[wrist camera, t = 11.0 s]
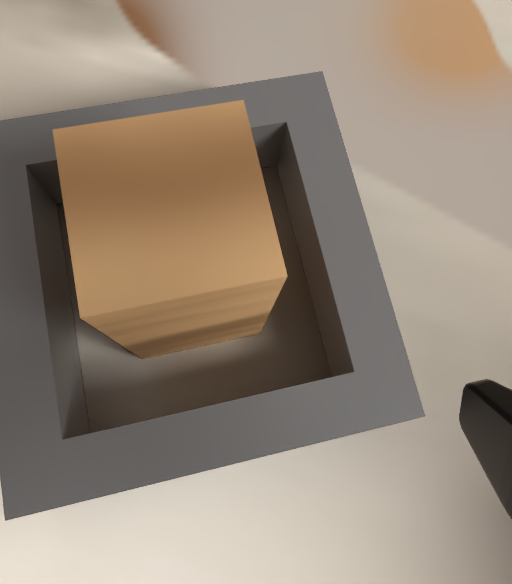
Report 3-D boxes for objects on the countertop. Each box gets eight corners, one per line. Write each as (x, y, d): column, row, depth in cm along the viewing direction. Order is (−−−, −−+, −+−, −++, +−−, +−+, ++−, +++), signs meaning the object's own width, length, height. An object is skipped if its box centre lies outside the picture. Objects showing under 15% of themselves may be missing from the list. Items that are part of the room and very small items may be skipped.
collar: (390, 415, 20) (425, 416, 17) (44, 500, 18) (4, 520, 15) (307, 121, 23) (322, 71, 20) (5, 171, 21) (-36, 126, 18)
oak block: (259, 333, 21) (287, 276, 12) (142, 359, 20) (80, 317, 11) (235, 225, 22) (243, 99, 13) (122, 246, 21) (52, 129, 12)
